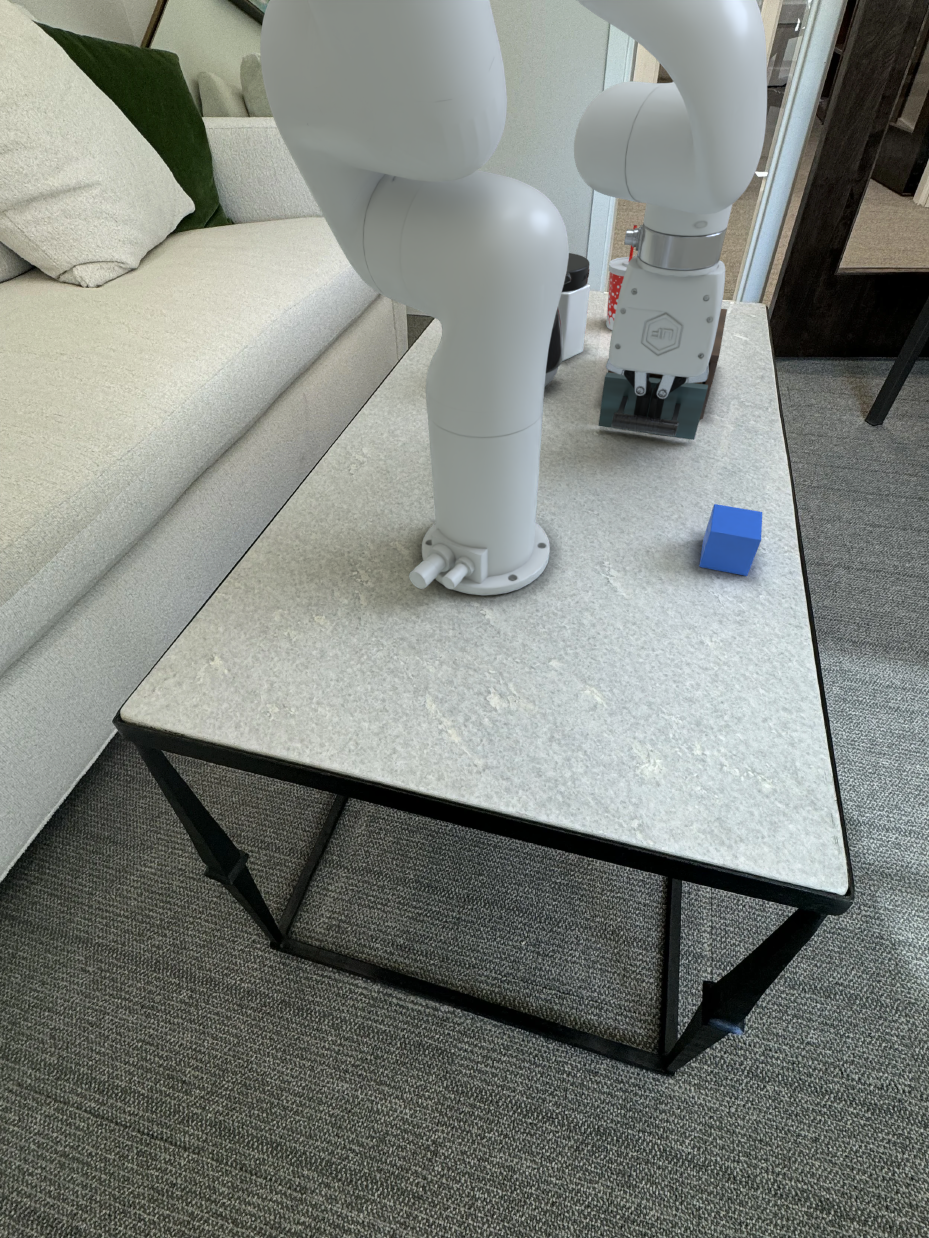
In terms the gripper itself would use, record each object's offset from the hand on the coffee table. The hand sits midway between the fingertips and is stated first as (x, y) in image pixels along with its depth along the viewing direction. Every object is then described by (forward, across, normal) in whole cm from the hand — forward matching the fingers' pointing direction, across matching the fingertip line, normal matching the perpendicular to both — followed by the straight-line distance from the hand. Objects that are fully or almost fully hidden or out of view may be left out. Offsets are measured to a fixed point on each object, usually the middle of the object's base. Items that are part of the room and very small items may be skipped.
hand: (645, 424), depth 74 cm
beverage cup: (+4, -8, +36) cm, 37 cm away
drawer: (+3, 0, +7) cm, 7 cm away
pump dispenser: (+4, -18, +13) cm, 22 cm away
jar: (+4, -16, +25) cm, 30 cm away
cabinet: (+4, 0, +17) cm, 17 cm away
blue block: (+4, +10, -17) cm, 20 cm away
